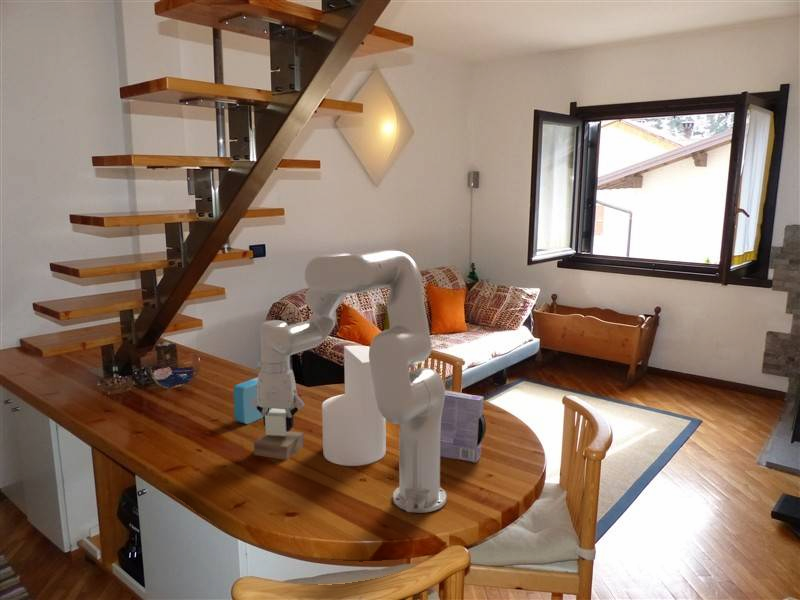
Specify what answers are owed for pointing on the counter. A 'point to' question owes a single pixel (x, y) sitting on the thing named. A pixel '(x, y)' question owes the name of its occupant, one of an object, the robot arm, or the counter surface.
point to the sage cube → (276, 422)
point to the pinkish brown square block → (279, 445)
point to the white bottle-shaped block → (354, 415)
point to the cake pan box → (462, 426)
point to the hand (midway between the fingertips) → (278, 428)
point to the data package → (246, 402)
